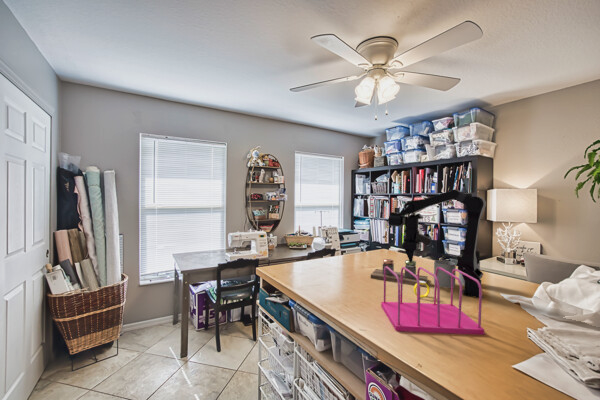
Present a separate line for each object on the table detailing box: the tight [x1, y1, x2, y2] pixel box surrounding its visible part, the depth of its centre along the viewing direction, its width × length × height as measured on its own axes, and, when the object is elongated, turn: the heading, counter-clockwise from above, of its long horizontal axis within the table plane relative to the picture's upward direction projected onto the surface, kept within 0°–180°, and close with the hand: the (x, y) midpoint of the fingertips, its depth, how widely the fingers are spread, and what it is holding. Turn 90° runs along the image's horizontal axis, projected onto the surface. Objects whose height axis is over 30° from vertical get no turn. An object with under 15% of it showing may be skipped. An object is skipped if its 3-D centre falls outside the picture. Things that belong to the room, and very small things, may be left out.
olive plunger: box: [404, 259, 417, 268], centre depth 124 cm, size 5×5×6 cm
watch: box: [413, 281, 431, 298], centre depth 104 cm, size 6×3×6 cm, turn 94°
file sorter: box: [380, 266, 485, 336], centre depth 85 cm, size 17×25×16 cm
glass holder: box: [457, 248, 481, 286], centre depth 119 cm, size 9×14×15 cm, turn 137°
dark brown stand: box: [370, 262, 428, 288], centre depth 126 cm, size 12×24×6 cm, turn 62°
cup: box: [433, 259, 457, 289], centre depth 119 cm, size 8×8×10 cm
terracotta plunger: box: [382, 258, 394, 265], centre depth 129 cm, size 5×5×6 cm
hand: (410, 261), depth 124 cm, fingers closed, pressing on olive plunger
